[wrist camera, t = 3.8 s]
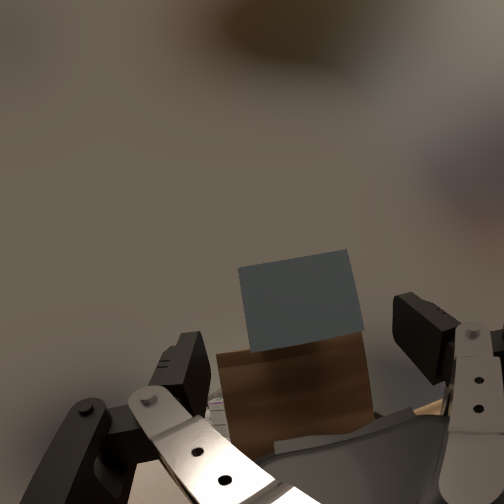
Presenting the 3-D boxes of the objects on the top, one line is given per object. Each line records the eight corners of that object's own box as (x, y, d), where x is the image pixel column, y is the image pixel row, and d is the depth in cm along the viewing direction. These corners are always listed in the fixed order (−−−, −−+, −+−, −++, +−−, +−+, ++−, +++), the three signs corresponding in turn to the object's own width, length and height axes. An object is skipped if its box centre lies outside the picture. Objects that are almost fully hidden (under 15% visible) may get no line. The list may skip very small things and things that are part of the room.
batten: (364, 330, 10) (346, 249, 11) (250, 352, 10) (237, 267, 11) (297, 340, 34) (293, 315, 35) (264, 345, 34) (260, 321, 35)
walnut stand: (374, 602, 9) (360, 328, 19) (277, 621, 10) (215, 354, 19) (346, 537, 25) (321, 335, 34) (276, 550, 25) (239, 349, 34)
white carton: (229, 437, 89) (223, 399, 94) (214, 437, 90) (207, 400, 95) (234, 432, 95) (228, 396, 99) (219, 433, 96) (213, 397, 100)
